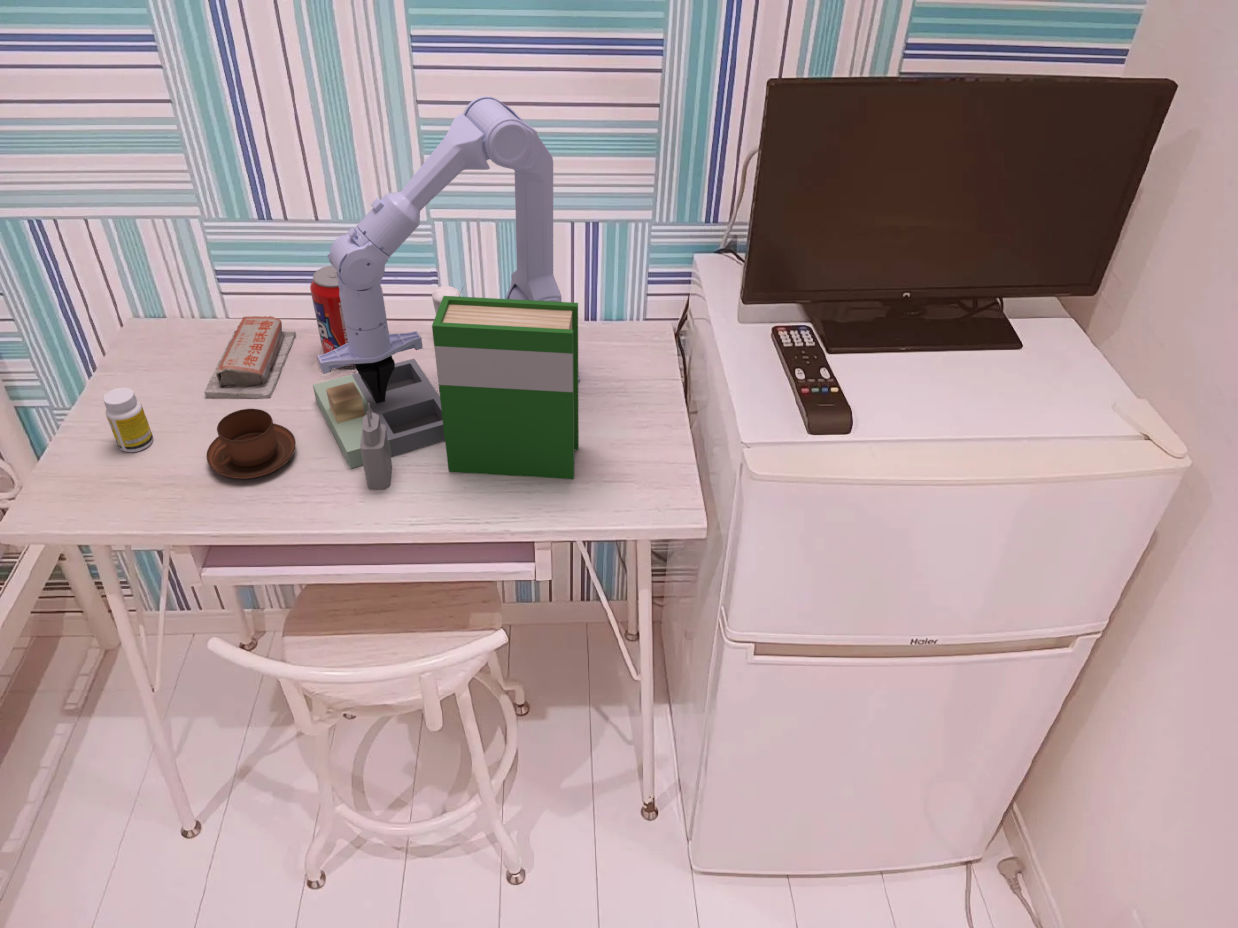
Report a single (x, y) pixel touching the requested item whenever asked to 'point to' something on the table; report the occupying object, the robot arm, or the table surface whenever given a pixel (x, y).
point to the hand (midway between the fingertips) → (378, 399)
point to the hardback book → (508, 385)
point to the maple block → (345, 402)
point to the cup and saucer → (250, 445)
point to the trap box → (389, 412)
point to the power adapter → (375, 452)
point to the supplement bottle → (127, 420)
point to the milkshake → (441, 292)
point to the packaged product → (251, 360)
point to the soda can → (328, 309)
